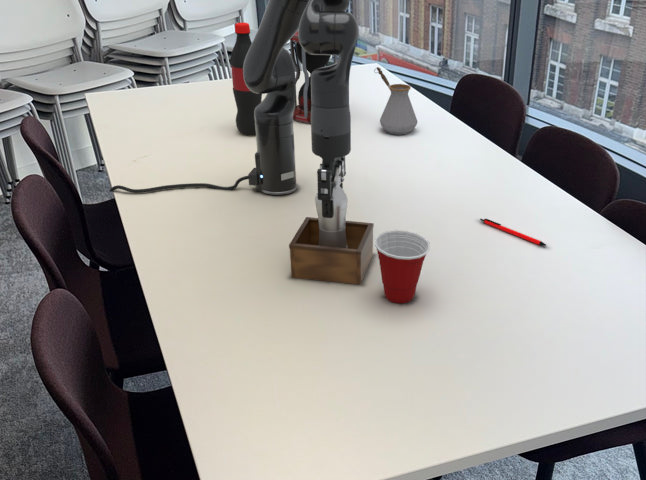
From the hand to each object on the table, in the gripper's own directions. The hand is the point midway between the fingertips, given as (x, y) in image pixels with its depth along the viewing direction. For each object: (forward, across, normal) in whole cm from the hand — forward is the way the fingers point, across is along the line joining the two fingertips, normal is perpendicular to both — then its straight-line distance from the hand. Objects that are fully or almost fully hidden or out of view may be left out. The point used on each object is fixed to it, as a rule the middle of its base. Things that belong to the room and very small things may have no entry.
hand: (332, 208), depth 154 cm
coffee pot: (+13, -94, -3) cm, 95 cm away
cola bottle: (+13, -78, -43) cm, 90 cm away
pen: (+13, -24, +37) cm, 46 cm away
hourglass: (+13, -98, -28) cm, 103 cm away
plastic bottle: (+13, 0, 0) cm, 13 cm away
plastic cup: (+13, +10, +16) cm, 23 cm away
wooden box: (+13, 0, 0) cm, 13 cm away
